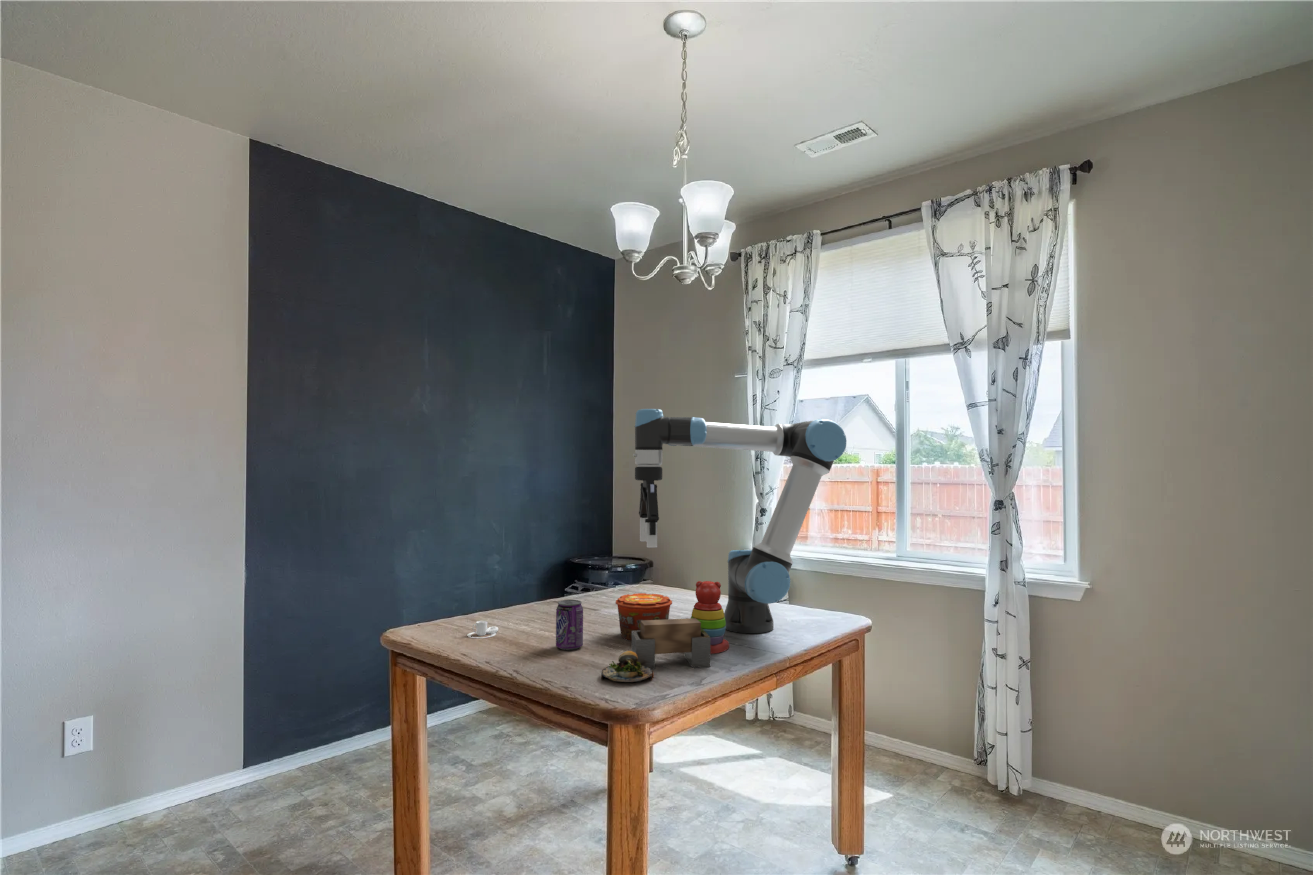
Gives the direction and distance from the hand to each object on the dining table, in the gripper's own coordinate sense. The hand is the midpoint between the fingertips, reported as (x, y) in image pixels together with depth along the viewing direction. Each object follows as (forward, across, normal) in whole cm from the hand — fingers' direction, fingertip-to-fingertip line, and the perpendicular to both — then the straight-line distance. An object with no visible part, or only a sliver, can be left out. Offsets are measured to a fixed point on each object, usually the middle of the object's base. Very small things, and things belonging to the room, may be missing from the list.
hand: (648, 544), depth 187 cm
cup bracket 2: (+27, +18, +9) cm, 33 cm away
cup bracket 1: (+27, +18, -3) cm, 32 cm away
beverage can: (+27, +1, -21) cm, 34 cm away
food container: (+27, -8, 0) cm, 28 cm away
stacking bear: (+27, +7, +15) cm, 32 cm away
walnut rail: (+24, +18, +3) cm, 30 cm away
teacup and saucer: (+27, -15, -42) cm, 53 cm away
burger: (+27, +28, -9) cm, 40 cm away
